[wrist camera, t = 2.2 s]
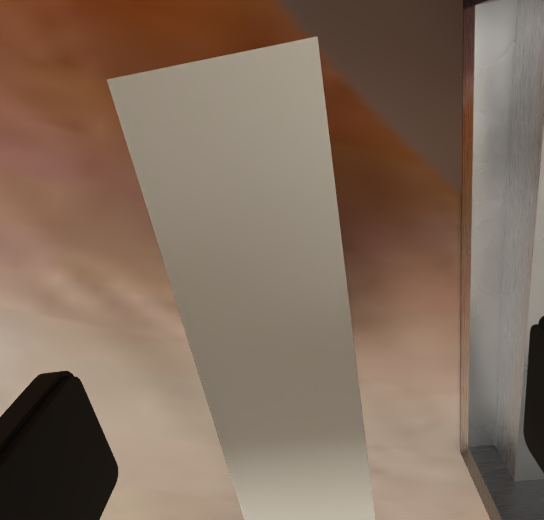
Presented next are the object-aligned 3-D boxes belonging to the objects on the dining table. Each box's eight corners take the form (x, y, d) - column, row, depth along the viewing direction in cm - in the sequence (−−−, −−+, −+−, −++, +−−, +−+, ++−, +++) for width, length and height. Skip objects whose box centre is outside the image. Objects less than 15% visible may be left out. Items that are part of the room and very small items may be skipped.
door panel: (218, 75, 15) (106, 79, 6) (300, 59, 15) (317, 36, 6) (275, 346, 20) (263, 580, 11) (338, 338, 19) (381, 573, 10)
